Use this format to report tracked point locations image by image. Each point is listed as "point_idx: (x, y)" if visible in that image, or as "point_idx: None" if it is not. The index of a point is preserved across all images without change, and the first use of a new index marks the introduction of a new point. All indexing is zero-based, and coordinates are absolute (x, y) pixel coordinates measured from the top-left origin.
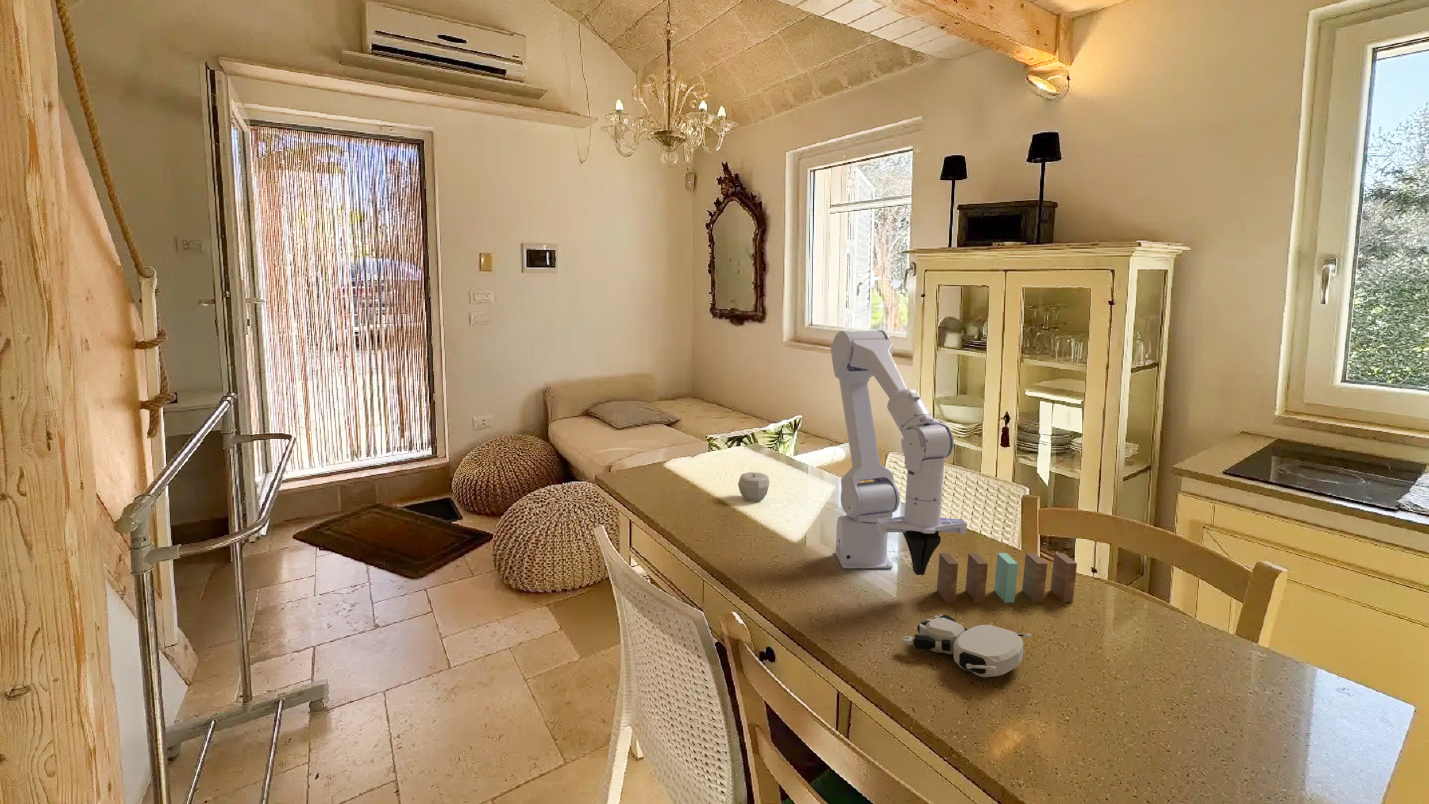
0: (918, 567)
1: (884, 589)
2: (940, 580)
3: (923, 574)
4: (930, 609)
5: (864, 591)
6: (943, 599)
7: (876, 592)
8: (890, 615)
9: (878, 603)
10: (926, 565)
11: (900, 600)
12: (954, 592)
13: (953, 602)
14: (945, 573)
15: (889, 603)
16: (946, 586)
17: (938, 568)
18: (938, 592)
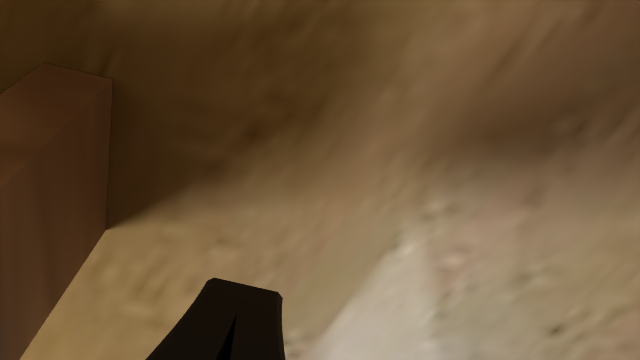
0: (264, 337)
1: (424, 320)
2: (62, 249)
3: (217, 280)
4: (271, 16)
5: (562, 329)
6: (109, 120)
7: (498, 303)
8: (635, 6)
9: (587, 185)
10: (176, 334)
11: (411, 183)
12: (11, 97)
13: (54, 65)
14: (5, 235)
15: (513, 167)
16: (56, 140)
17: (28, 344)
18: (104, 207)
